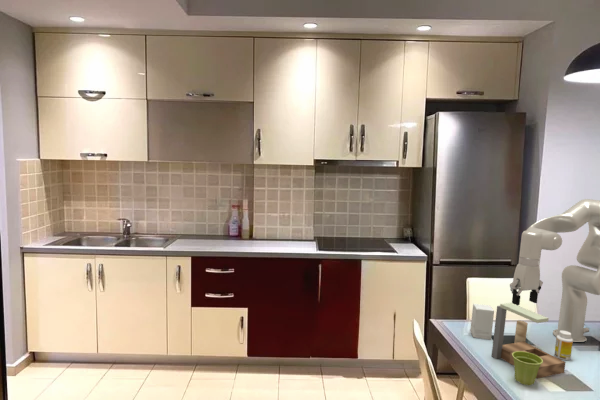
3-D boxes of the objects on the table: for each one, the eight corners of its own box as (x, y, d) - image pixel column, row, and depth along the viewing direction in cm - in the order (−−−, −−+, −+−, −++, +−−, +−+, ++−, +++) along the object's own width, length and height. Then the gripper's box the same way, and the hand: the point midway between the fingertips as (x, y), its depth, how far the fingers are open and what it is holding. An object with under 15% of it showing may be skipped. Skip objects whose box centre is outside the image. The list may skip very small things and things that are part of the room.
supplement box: (491, 340, 189) (494, 311, 188) (472, 337, 191) (475, 308, 189) (487, 333, 197) (490, 305, 195) (469, 330, 198) (472, 303, 197)
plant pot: (542, 390, 150) (545, 365, 149) (512, 385, 153) (514, 360, 152) (536, 377, 159) (539, 353, 158) (507, 372, 162) (510, 349, 161)
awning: (502, 354, 176) (508, 301, 174) (541, 375, 161) (548, 318, 158) (491, 356, 174) (497, 302, 172) (529, 378, 158) (537, 319, 156)
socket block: (522, 351, 180) (523, 341, 180) (564, 372, 164) (565, 362, 164) (496, 355, 175) (497, 345, 174) (536, 378, 158) (538, 367, 158)
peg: (518, 343, 188) (521, 320, 187) (527, 347, 184) (529, 323, 183) (511, 344, 186) (514, 321, 185) (519, 348, 183) (522, 324, 181)
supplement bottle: (573, 359, 175) (577, 334, 174) (564, 361, 173) (567, 336, 172) (560, 353, 180) (563, 328, 179) (550, 355, 178) (554, 330, 177)
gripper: (536, 258, 188) (531, 298, 190) (505, 260, 181) (501, 301, 183) (552, 263, 181) (547, 304, 183) (521, 265, 174) (516, 308, 176)
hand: (524, 303), depth 183 cm, fingers open, 9 cm apart
